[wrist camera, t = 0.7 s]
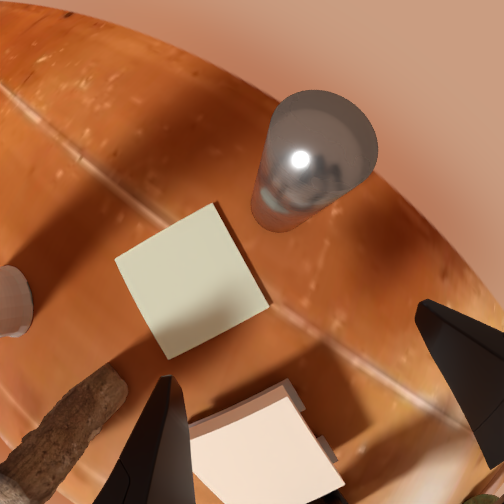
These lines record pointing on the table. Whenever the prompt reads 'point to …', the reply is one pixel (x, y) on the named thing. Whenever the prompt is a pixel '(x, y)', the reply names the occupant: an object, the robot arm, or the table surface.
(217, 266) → the mat
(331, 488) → the slab on rollers
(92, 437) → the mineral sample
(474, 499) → the decorative artifact
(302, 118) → the silver metal cylinder
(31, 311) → the container
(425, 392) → the table surface
